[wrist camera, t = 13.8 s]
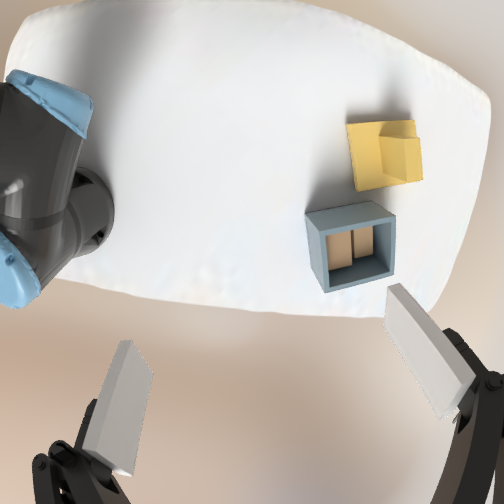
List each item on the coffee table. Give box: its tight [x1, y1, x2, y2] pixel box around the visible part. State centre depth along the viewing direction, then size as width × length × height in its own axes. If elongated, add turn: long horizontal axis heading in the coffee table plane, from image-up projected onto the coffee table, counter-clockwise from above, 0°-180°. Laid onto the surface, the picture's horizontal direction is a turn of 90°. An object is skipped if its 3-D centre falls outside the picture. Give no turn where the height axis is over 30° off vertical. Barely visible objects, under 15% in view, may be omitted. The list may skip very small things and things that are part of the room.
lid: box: [346, 120, 423, 192], centre depth 35 cm, size 13×11×9 cm
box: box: [305, 201, 396, 293], centre depth 41 cm, size 12×10×8 cm
